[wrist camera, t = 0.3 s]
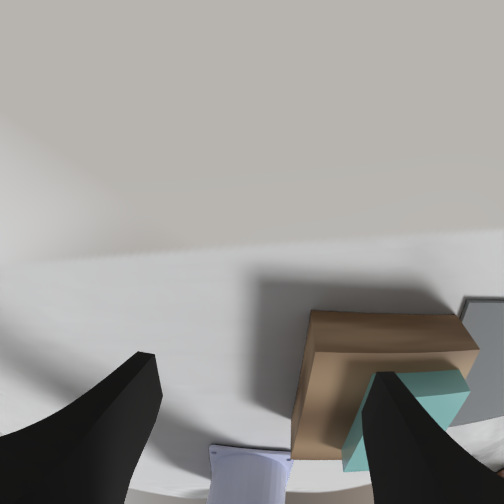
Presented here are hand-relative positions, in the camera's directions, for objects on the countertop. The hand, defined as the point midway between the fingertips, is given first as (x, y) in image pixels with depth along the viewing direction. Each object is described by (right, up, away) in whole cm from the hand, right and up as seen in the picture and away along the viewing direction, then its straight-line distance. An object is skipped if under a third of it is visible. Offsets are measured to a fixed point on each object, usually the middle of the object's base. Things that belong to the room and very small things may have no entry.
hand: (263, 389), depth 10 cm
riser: (+8, -5, +12) cm, 15 cm away
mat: (+21, -6, +11) cm, 24 cm away
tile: (+9, -6, +8) cm, 13 cm away
